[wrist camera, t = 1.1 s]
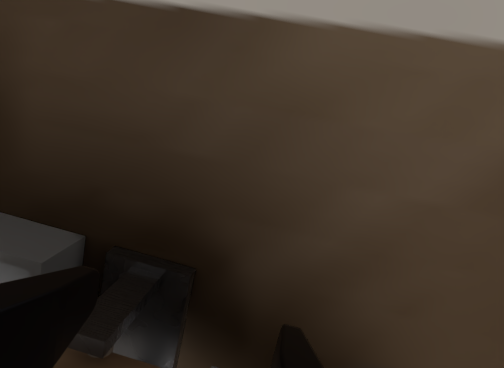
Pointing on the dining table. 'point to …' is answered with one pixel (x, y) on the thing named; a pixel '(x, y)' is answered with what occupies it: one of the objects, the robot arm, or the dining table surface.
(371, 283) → the dining table surface
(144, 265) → the stand
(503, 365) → the dining table surface
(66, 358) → the chute
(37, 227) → the bin
